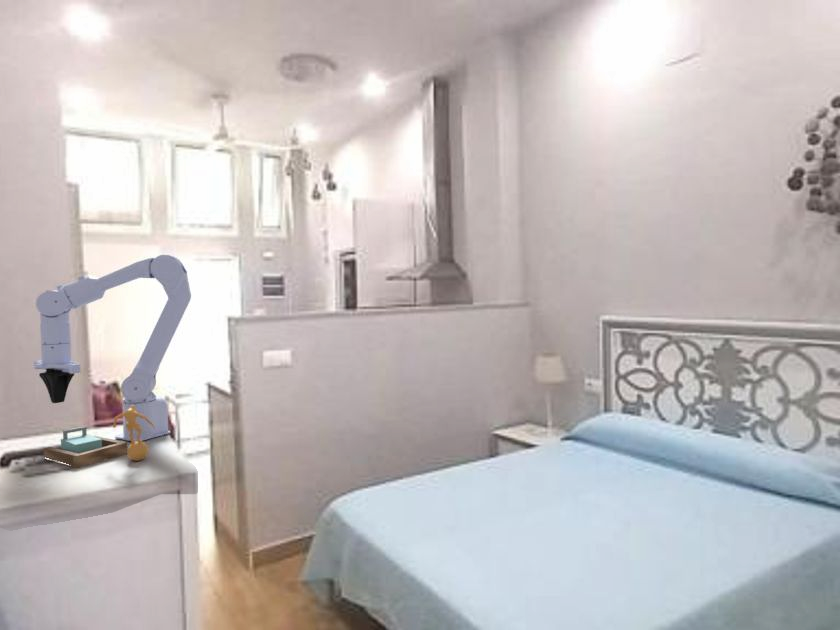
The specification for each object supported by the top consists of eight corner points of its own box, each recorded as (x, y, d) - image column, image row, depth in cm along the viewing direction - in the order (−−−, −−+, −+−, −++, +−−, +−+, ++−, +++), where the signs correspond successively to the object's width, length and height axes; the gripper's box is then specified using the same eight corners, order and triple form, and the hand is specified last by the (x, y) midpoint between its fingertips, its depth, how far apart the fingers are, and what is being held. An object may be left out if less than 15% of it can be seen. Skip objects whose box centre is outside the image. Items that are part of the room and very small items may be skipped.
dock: (95, 446, 130) (94, 435, 130) (127, 453, 124) (127, 442, 124) (44, 459, 120) (43, 448, 120) (77, 467, 115) (76, 456, 115)
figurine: (162, 457, 122) (160, 401, 121) (149, 466, 116) (147, 407, 115) (122, 457, 122) (121, 401, 121) (107, 466, 116) (105, 407, 115)
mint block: (87, 450, 126) (86, 425, 126) (102, 455, 122) (101, 430, 122) (61, 455, 122) (60, 430, 122) (75, 462, 118) (75, 436, 118)
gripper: (19, 343, 131) (21, 402, 132) (57, 346, 124) (59, 408, 125) (50, 340, 137) (52, 396, 138) (88, 343, 130) (90, 402, 131)
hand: (58, 402), depth 132 cm, fingers closed
